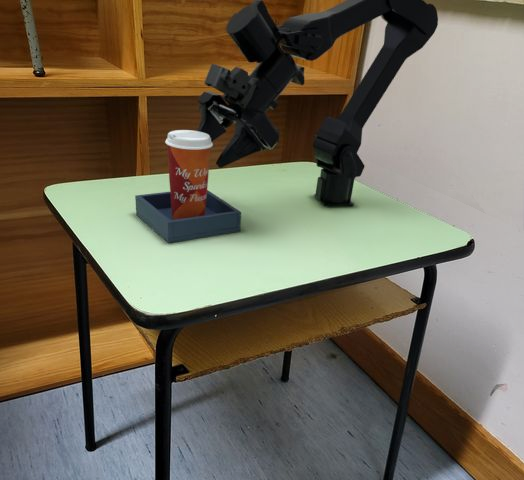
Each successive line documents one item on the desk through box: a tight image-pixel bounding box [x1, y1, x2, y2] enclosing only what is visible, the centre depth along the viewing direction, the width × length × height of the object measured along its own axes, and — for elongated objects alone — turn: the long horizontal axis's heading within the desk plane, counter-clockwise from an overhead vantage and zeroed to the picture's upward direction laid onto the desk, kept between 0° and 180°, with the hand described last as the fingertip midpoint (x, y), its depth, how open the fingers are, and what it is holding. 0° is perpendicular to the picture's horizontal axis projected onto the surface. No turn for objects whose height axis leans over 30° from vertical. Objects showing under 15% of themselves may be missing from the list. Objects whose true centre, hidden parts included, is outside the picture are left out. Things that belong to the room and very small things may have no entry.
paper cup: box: [164, 129, 214, 220], centre depth 90 cm, size 8×8×14 cm
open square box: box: [134, 189, 242, 244], centre depth 93 cm, size 14×14×4 cm
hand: (204, 158), depth 90 cm, fingers open, 9 cm apart
